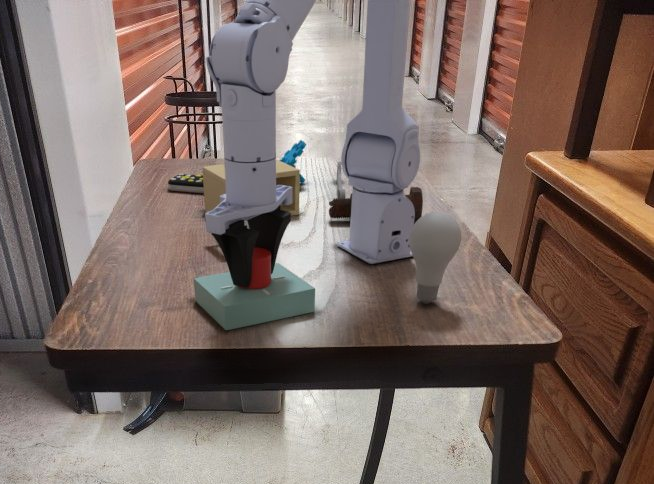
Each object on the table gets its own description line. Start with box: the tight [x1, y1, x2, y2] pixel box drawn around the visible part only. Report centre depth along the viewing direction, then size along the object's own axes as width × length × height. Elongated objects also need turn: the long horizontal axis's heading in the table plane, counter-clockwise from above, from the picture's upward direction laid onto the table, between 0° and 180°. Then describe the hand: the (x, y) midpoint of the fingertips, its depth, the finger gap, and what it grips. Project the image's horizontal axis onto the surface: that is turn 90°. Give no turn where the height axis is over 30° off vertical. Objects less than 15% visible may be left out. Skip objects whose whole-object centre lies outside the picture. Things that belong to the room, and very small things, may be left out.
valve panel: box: [193, 262, 316, 331], centre depth 82 cm, size 10×12×3 cm
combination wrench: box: [336, 161, 346, 199], centre depth 124 cm, size 4×1×20 cm
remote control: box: [167, 173, 204, 194], centre depth 126 cm, size 6×13×2 cm, turn 73°
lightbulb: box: [409, 210, 462, 304], centre depth 81 cm, size 6×6×11 cm
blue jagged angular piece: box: [278, 139, 307, 189], centre depth 128 cm, size 11×6×10 cm
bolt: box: [328, 186, 424, 224], centre depth 109 cm, size 6×5×15 cm
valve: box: [239, 247, 271, 289], centre depth 80 cm, size 4×4×4 cm
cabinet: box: [202, 158, 301, 217], centre depth 113 cm, size 10×14×7 cm
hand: (253, 278), depth 81 cm, fingers closed on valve, 4 cm apart
